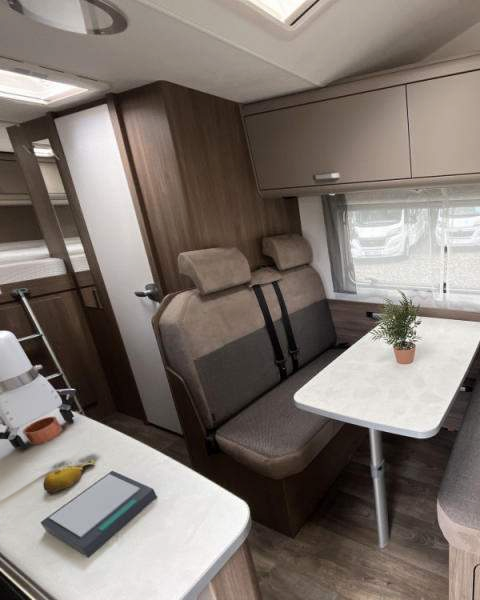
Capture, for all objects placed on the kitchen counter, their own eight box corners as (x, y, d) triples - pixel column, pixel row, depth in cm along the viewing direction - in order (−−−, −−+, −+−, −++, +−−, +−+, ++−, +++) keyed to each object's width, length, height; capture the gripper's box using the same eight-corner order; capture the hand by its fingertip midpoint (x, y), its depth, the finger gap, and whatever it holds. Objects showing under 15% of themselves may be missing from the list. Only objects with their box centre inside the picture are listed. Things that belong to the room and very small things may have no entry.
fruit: (99, 458, 76) (93, 447, 75) (81, 487, 69) (74, 475, 68) (55, 470, 74) (48, 459, 72) (32, 502, 66) (24, 489, 65)
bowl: (27, 445, 82) (17, 430, 80) (57, 428, 87) (49, 414, 85) (39, 451, 80) (30, 435, 78) (69, 433, 85) (61, 419, 83)
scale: (46, 530, 60) (38, 520, 59) (116, 478, 71) (111, 469, 70) (88, 557, 56) (81, 547, 55) (157, 497, 66) (152, 487, 65)
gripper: (52, 359, 85) (79, 409, 92) (-49, 399, 70) (-8, 456, 77) (67, 363, 83) (94, 414, 89) (-34, 406, 68) (7, 464, 74)
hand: (47, 433), depth 83 cm, fingers open, 9 cm apart
